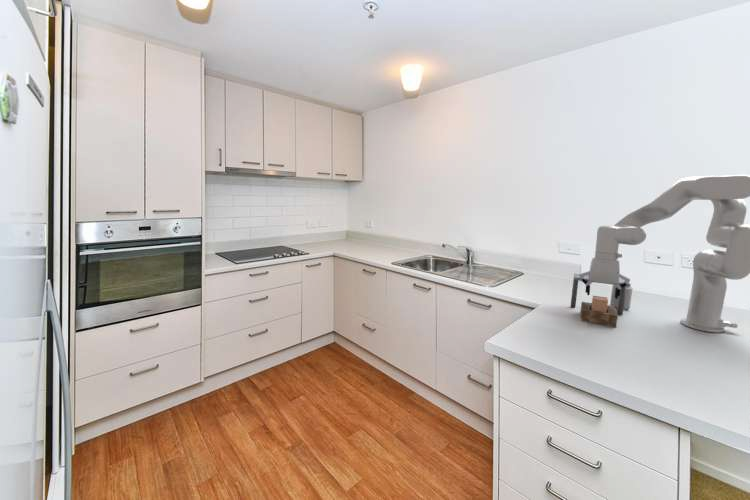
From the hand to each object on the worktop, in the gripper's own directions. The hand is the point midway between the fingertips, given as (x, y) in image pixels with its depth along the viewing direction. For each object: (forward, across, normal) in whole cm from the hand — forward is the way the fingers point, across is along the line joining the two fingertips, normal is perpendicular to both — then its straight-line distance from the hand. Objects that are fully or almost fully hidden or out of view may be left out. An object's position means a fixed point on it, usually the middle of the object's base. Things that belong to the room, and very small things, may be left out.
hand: (601, 296), depth 136 cm
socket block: (+11, +1, -1) cm, 11 cm away
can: (+12, -9, -25) cm, 29 cm away
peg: (+11, +1, 0) cm, 11 cm away
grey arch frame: (+11, +1, -10) cm, 15 cm away
